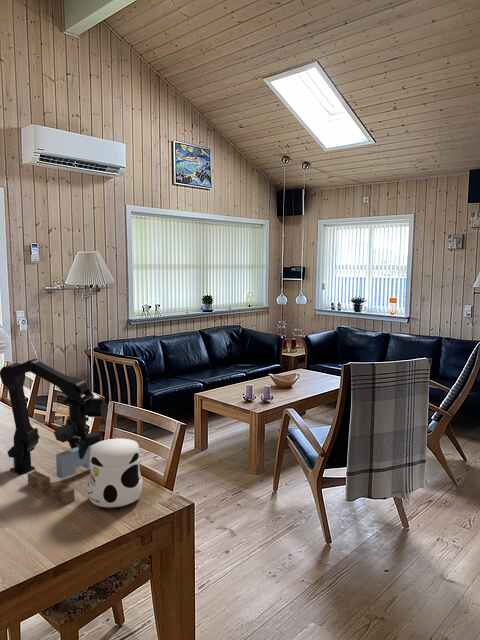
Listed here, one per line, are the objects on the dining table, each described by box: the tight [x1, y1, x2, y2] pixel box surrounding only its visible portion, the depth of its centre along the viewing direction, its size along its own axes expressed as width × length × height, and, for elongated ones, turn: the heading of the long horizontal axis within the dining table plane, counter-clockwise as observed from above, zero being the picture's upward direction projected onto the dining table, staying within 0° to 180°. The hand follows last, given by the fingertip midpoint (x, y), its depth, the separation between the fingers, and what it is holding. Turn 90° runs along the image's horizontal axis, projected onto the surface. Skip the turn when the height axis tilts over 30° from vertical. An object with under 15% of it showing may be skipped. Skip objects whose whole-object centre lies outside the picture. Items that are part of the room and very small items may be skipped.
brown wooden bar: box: [27, 470, 75, 505], centre depth 165 cm, size 22×3×4 cm, turn 54°
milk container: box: [87, 437, 144, 509], centre depth 160 cm, size 17×17×18 cm
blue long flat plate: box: [55, 444, 94, 479], centre depth 178 cm, size 3×16×8 cm, turn 144°
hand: (78, 457), depth 178 cm, fingers closed on blue long flat plate, 3 cm apart
